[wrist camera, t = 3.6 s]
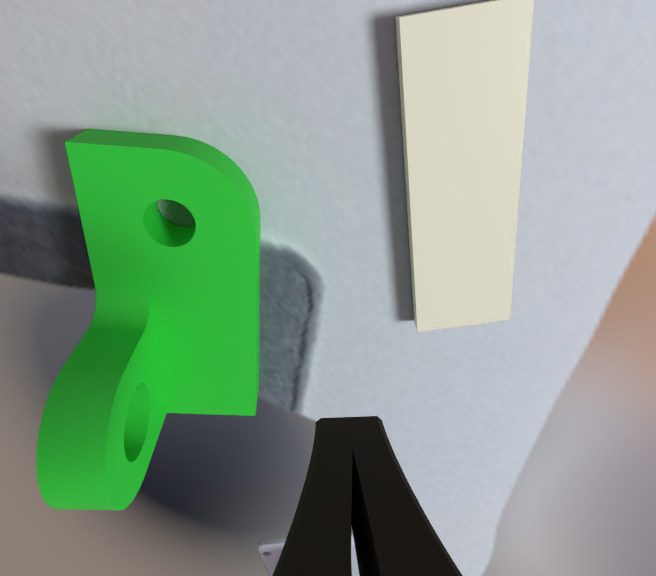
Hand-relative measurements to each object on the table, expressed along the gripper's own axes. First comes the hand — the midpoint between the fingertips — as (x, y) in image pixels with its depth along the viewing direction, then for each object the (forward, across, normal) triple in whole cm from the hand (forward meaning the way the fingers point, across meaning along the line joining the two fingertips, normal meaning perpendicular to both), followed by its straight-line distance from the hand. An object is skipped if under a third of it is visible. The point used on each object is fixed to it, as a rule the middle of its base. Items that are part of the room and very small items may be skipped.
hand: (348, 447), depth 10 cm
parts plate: (+10, -5, -2) cm, 11 cm away
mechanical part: (+10, +6, +1) cm, 12 cm away
